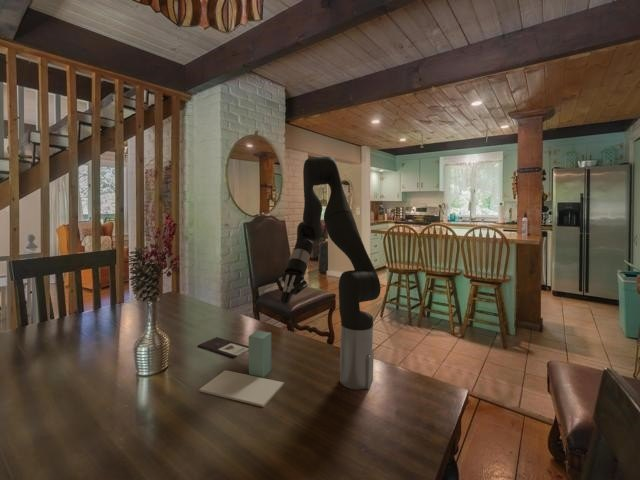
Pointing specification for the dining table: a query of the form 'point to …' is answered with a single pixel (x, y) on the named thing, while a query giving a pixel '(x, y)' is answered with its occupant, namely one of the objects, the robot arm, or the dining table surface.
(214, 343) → the chocolate bar
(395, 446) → the dining table surface
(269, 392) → the cream mat
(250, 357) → the teal block
